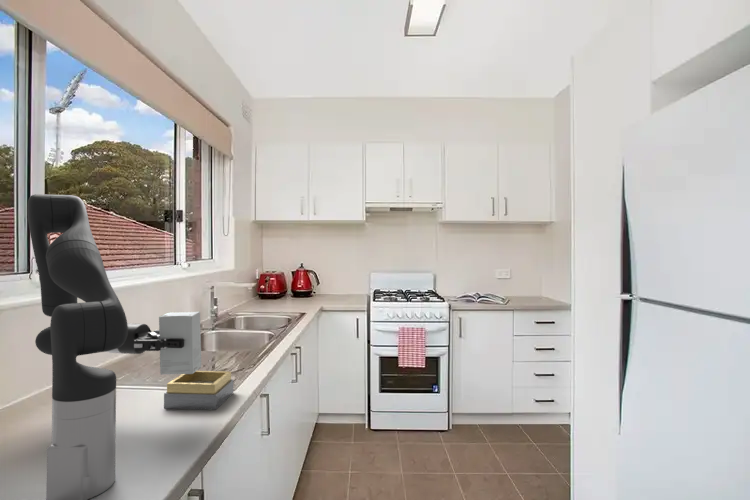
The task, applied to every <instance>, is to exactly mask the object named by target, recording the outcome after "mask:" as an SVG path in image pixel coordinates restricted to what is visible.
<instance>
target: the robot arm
mask: <svg viewBox="0 0 750 500" xmlns="http://www.w3.org/2000/svg"><path fill="white" fill-rule="evenodd" d="M26 212H27V223H28V228H29V229H28V230H29V234H30V235H29V236H30V240H31V244H32V245H31V246H32V251H33V254H34V259H35V263H36V267H37V271H38V278H39V283H40V298H41V300H40V301H41V310H42V313H43V314H44V315H45V316H47V317H50V325H49V326H48V327H45V328H44V329H42V330H40V332H38V334H37V335H36V337H35V341H34V342H35V347H36V348H37V349H38V350H39V351H40V352H42V353H44V354H46V355H50V356H51V360H52V368H51V369H52V374H51V375H52V378H51V379H52V380H51V381H52V382H51V383H52V388H51V444H50V445H49V446H47V448H46V482H45V483H46V485H45V486H46V492H45V494H46V498H45V499H46V500H89V499H91V498H94V497H96V496H99V495H100V494H103V493H104V492H105V491H107V490H108V489H110V488H111V487H112V486H113V484H114V483H115V482H116V448H117V447H116V446H117V444H116V440H117V439H116V438H117V437H116V436H117V434H116V433H117V431H116V429H117V423H116V422H117V420H116V419H117V375H116V373H115V372H114V371H113V370H111V369H109V368H104V367H94V366H88V365H84V364H81V363H79V362H77V357H79V356H86V355H90V354H91V355H93V354H97V353H109V354H122V355H123V354H126V355H127V354H128V355H129V354H130V355H141V354H143V353H145V352H151V351H152V352H155V351H156V352H160V350H161V349H167V347H168V348H183V347H184V339H179V338H169V339H168V338H161V337H160V336H159V329H154V330H153V331H152V330H151V329H150V328H151V327H150V326H149V325H148V324H145V323H134V322H133V323H131V322H130V323H128V320H127V316H126V311H124V307H123V305H122V303H121V301H120V300H119V297H118V296H117V294H116V292H115V290H114V289H113V287H112V285H111V282H110V281H109V278H108V275H107V271H106V269H105V265H104V261H103V257H102V256H101V252H100V250H99V248H98V246H97V244H96V241H95V238H94V235H93V234H92V230H91V225H90V220H89V217H88V210H87V207H86V204H85V202H84V201H83V199H81V198H80V197H79V196H77V195H72V194H48V193H47V194H45V193H44V194H43V193H42V194H39V193H38V194H32V195H30V197H28V201H27V207H26ZM60 233H61V234H60ZM49 234H59V235H58V236H57V237H56V238H55V239H54V240H53V241H52V242H51V243H50V241H49V238H48V235H49ZM78 299H80V300H82V301H83V302H78Z"/></svg>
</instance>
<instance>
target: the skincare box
mask: <svg viewBox="0 0 750 500" xmlns="http://www.w3.org/2000/svg"><path fill="white" fill-rule="evenodd" d="M158 326H159V327H158V330H159V336H160V337H161V338H168V339H169V338H179V339H184V347H183V348H168V347H167V349H161V350H159V370H160V371H159V373H160V375H181V374H193V373H194V372H196V371H200V369H202V337H201V336H202V335H201V312H200V311H183V312H182V311H181V312H179V311H177V312H175V311H174V312H172V311H171V312H167V313H165V314H162V315H160V316H159V317H158Z"/></svg>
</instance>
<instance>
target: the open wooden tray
mask: <svg viewBox="0 0 750 500" xmlns="http://www.w3.org/2000/svg"><path fill="white" fill-rule="evenodd" d="M232 393H233V394H234V378H233V379H232V371H228V370H227V371H222V370H221V371H219V370H218V371H217V370H197V371H196V372H194V373H193V374H179V376H177V377H174V379H172V380H170V381H168V382H167V384H166V391H165V392H164V394H163V409H167V410H168V409H169V410H171V409H173V410H204V409H212V411H214V410H215V411H216V410H217V409H218V408H219V407H220V406H221V405H222V404H224V403H225V401H227V399H228V397H229V396H230V395H231V396H232V395H233V394H232ZM229 398H230V397H229Z"/></svg>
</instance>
